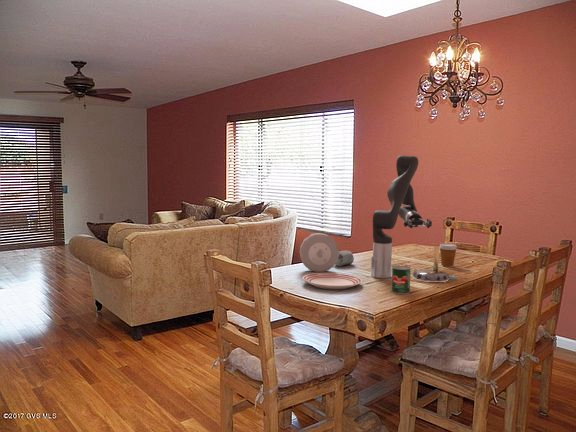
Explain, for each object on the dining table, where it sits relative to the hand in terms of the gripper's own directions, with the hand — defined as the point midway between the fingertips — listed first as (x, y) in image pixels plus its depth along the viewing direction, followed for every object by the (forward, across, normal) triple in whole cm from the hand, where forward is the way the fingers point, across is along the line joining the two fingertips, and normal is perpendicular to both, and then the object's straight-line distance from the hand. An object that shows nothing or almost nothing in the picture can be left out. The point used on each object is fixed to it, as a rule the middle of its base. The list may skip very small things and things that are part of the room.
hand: (420, 226), depth 239 cm
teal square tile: (+15, +13, +23) cm, 30 cm away
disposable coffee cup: (-17, +20, +28) cm, 39 cm away
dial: (+5, -53, +22) cm, 57 cm away
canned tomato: (+43, -17, +18) cm, 49 cm away
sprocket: (+16, +2, +22) cm, 28 cm away
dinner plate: (+32, -47, +18) cm, 60 cm away
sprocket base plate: (+16, +2, +22) cm, 28 cm away
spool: (-12, -39, +26) cm, 48 cm away
